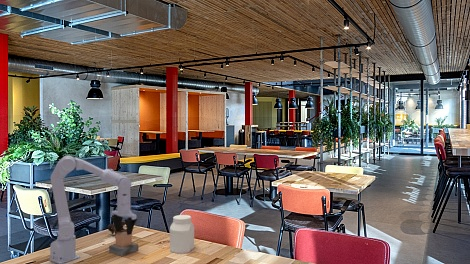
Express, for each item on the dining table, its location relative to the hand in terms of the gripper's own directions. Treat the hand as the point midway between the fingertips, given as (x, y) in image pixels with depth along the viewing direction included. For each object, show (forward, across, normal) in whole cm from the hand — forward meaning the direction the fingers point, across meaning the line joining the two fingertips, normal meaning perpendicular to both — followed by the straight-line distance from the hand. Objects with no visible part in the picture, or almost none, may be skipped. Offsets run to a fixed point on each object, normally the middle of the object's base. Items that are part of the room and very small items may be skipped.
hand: (123, 232), depth 167 cm
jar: (+9, -20, -17) cm, 28 cm away
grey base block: (+9, 0, 0) cm, 9 cm away
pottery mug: (+9, +22, -15) cm, 28 cm away
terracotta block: (+5, 0, 0) cm, 5 cm away
